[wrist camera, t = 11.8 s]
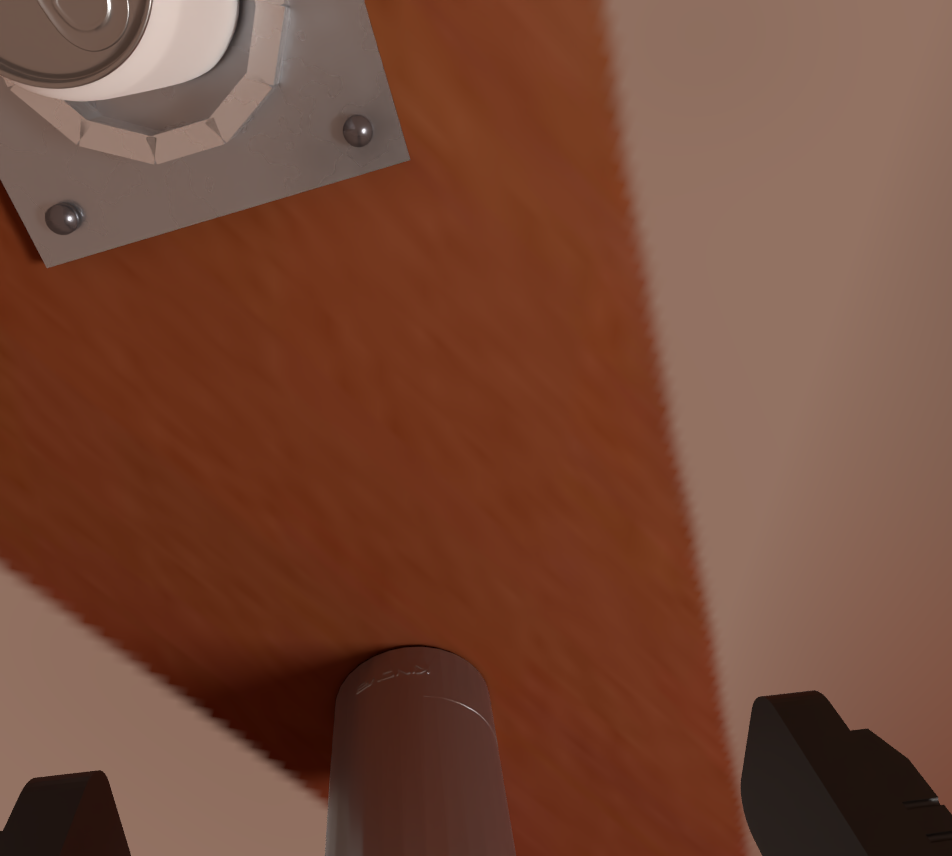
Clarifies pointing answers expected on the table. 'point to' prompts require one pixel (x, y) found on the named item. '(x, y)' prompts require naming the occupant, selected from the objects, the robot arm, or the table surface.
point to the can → (111, 44)
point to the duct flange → (204, 133)
